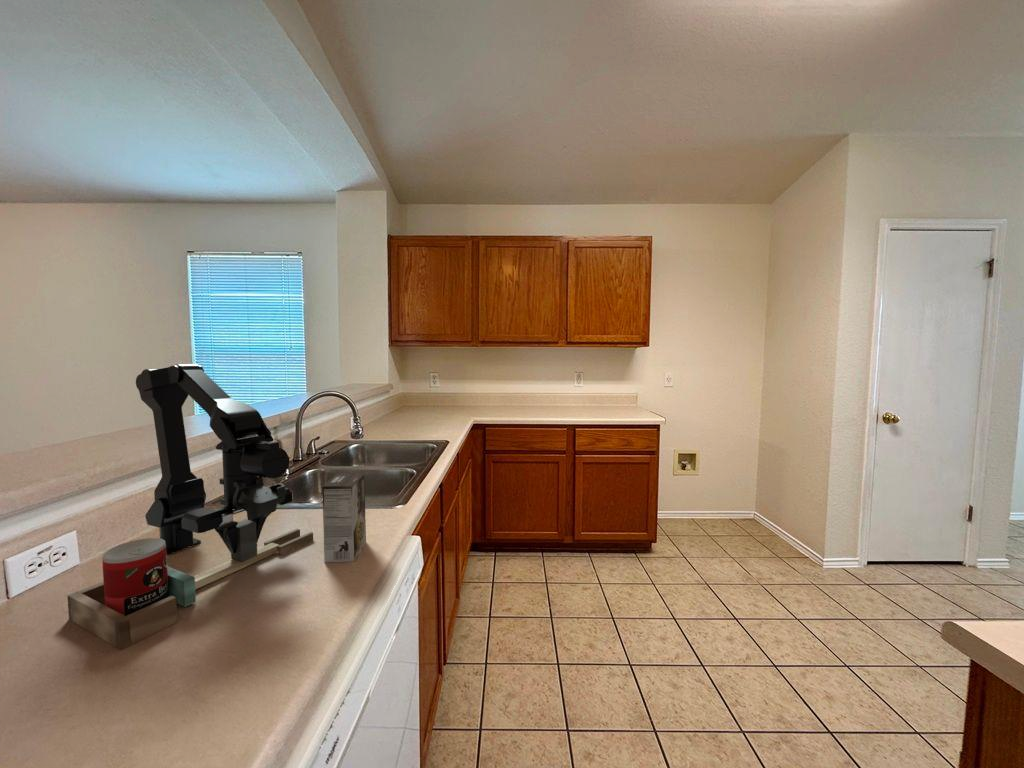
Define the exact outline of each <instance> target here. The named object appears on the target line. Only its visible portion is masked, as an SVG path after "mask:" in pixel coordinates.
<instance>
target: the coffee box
mask: <svg viewBox="0 0 1024 768" xmlns="http://www.w3.org/2000/svg"><path fill="white" fill-rule="evenodd" d="M365 485H366V484H365V473H335V475H334V476H332V477H331V478H330V479H328V481H326V483H325V484H323V485H322V486H321V489H322V519H323V520H322V521H323V522H322V523H323V527H322V528H323V549H324V550H323V555H324V557H323V558H324V560H323V561H324V563H345V562H347V563H348V562H350V563H351V562H355V561H356V559H357V558H358V556H359V555H360V553H361V551H362V550H363V548H364V546H365V545H366V542H367V530H366V529H367V528H366V527H367V525H366V522H367V521H366V495H365V493H366V492H365V491H366V489H365V487H366V486H365Z"/></svg>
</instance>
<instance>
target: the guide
mask: <svg viewBox="0 0 1024 768" xmlns="http://www.w3.org/2000/svg"><path fill="white" fill-rule="evenodd" d="M313 541H314V532H312V531H309V532H307V533H304V534H302V535H301V529H300V528H295V529H293V530H291V531H288V532H286V533H283V534H280V535H278V536H276V537H273V538H272V539H268V540H266V541H264V543H263V546H265V545H268V544H270V543H275V544H278V545H279V546H278V552H277V555H279V556H284V555H286V554H287V553H289V552H291V551H293V550H296V549H297V548H300V547H302V546H304V545H306V544H309V543H311V542H313Z"/></svg>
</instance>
